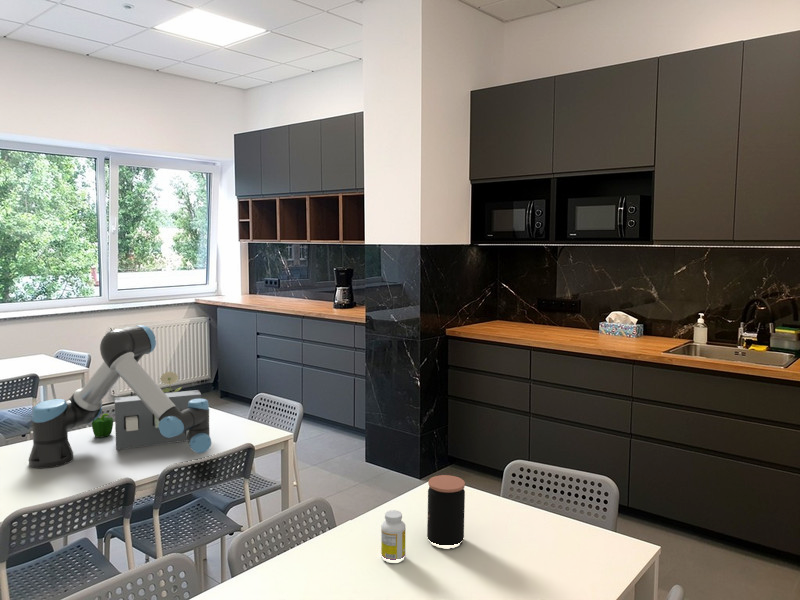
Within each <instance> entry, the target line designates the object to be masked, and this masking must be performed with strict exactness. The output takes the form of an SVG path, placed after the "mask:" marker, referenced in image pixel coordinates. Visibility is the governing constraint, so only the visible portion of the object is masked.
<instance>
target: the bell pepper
mask: <svg viewBox="0 0 800 600" xmlns="http://www.w3.org/2000/svg"><path fill="white" fill-rule="evenodd" d="M108 416H109V414H108V413H104V414H103V415H101V417H98V418H97V419H96V420H94V421H92V422H91V427H92V432H93V436H94V437H96V438H103V437H109V436H111V434H112V431H113V428H114V419H113V417H108Z"/></svg>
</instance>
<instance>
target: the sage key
mask: <svg viewBox="0 0 800 600" xmlns="http://www.w3.org/2000/svg"><path fill="white" fill-rule="evenodd" d="M159 422H160V421H159V420H158V419H157V418H156V417H155V416H154V425H155V428H159Z"/></svg>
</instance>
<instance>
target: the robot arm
mask: <svg viewBox="0 0 800 600" xmlns="http://www.w3.org/2000/svg"><path fill="white" fill-rule="evenodd" d="M156 345H157V341H156V336H155V333H154V331H153V330H152V329H151V328H150V327H149V326H146V325H143V324H141V325H139V324H138V325H133V326H128V327H123V328H116V329H113V330H110V331H108V332H106V333H105V335H104V336H103V337H102V339H101V341H100V344H99V351H100V355H101V359H102V360H103V362H102V363H101V364H100V366H99V368H98V369H97V370H96V371H95V373H94V374H93V375H92V376H91V377H90V378H89V380H88V381H87V382H86V384H85V385H84V386H83V387H81V388H78V389H76V390H75V391H74V393H72V394H71V396H70V397H69V398H68V399H66V400H65V399H64V398H53V399H50V400H49V399H48V400H44V401H41V402H39V403H37V404H35V405H34V407H32V411H31V424H32V442H33V443H32V448H31V450H30V453H29V457H28V466H29V468H33V469H48V468H55V467H60V466H63V465H66V464H68V463H70V462H72V461H73V460H74V458H75V457H74V451H73V449H72V446H71V444H70V442H69V436H68V435H69V434H68V433H69V432H68V431H69V430H72V429H75V428H78V427H80V426H83V425H87V424H90V423H92V422H93V421H94V420H96V419H97V418H100V416H101V414H102V412H103V408H102V407H103V399H104V398H105V396H106V395H107V394H108V393H109V392H110V390H111V389H112V388H113V387H114V385H115V384H116V383H117V382H118V381H119V380H120V378H121V379H122V380H123V381H124V382H125V383H126V384H127V386H128V387H129V388H130V389H131V390H132V392H134V394H135V396H138V397H139V398H140V399H141V401H142V402H143V403H144V404H145V405H146V406H147V407H148V409H149V410H150V411H151V412H152V413H153V414H154V416H155V417H156V418H157V419H158V420H159V421H160V422H159V430H160V433H161V434H162V435H163V436H164V437H167V438H171V437H174V436H177V435H180V434H181V433H185V435H186V438H187V440H188V441H187V442H188V444H189V448H190V449H191V450H192V452H195V453H197V454H203V453H205V452H207V451H209V449H210V448H211V446H212V439H211V436H210V435H211V434H210V407H209V403H210V402H209V400H208V399H206V398H201V399H192V400H190V401H189V402H188V406H187V407H188V409H185V410H182V411H180V410H179V409H178V408H177V407H176V406H175V405H174V403H173V402H172V401H171V400H170V399H169V398H168V397H167V395H166V394H165V393H166V392H163V391H162V390H163V389H162V388H161V387H160V386H159V385H158V384H157V383H156V382H155V380H154V379H153V378H152V377H151V376H150V375H149V374H148V372H147V371H146V370H145V369H144V368H143V366H141V364H140V363H139V362H140V360H141V359H142V357H143V356H145V355H149V354H151V353H152V352H153V351H154V350H155V349H156Z"/></svg>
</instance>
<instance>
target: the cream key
mask: <svg viewBox="0 0 800 600" xmlns="http://www.w3.org/2000/svg"><path fill="white" fill-rule="evenodd" d="M125 420H126V431H134V430H138V418H137V415H133V416H125Z"/></svg>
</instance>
